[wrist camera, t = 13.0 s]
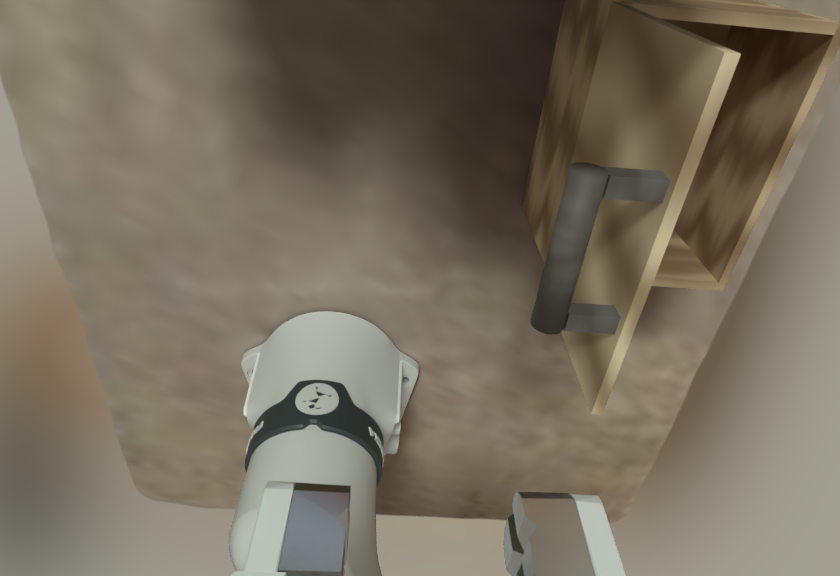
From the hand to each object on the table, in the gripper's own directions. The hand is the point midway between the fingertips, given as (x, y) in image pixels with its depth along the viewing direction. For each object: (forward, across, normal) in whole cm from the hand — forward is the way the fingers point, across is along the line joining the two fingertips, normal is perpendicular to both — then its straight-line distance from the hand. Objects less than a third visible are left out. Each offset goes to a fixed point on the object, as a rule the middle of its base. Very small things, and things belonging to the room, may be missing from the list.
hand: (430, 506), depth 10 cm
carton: (+39, +17, -3) cm, 43 cm away
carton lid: (+21, +11, -3) cm, 23 cm away
